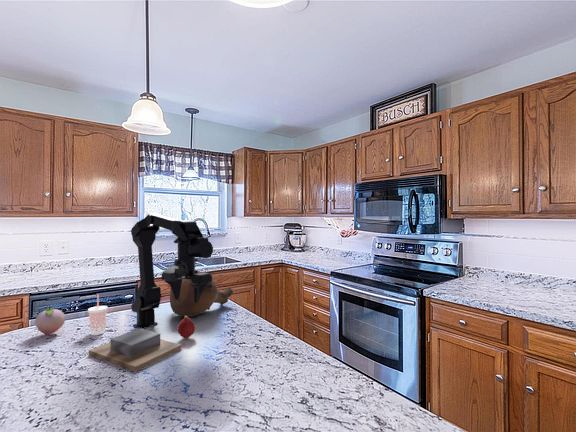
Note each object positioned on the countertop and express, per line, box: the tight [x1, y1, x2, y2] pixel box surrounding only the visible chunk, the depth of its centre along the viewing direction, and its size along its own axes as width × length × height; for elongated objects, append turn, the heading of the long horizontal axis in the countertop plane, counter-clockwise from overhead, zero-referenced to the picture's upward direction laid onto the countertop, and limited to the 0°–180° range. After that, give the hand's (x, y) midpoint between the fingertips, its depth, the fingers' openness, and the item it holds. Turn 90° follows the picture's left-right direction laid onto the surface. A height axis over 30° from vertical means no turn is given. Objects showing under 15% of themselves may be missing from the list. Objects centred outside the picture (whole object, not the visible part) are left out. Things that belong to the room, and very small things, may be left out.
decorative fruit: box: [34, 306, 66, 336], centre depth 108 cm, size 9×8×10 cm
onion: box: [177, 316, 196, 340], centre depth 105 cm, size 6×6×8 cm
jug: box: [169, 270, 234, 317], centre depth 134 cm, size 20×20×30 cm
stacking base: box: [88, 328, 182, 373], centre depth 94 cm, size 22×16×5 cm
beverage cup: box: [87, 293, 108, 336], centre depth 110 cm, size 6×6×14 cm
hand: (186, 301), depth 105 cm, fingers open, 9 cm apart
